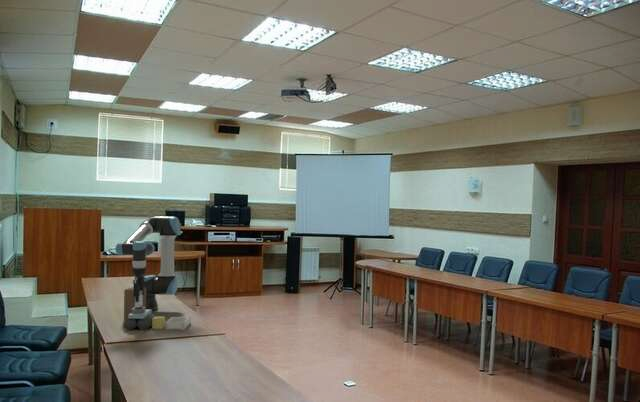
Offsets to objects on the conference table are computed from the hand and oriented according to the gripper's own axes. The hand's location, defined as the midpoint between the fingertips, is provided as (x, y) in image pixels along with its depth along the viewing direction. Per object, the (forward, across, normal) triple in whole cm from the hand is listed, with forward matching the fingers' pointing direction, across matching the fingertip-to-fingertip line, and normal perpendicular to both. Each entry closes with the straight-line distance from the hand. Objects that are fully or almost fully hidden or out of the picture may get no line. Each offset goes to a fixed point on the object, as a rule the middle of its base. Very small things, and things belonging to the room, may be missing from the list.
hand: (138, 306), depth 285 cm
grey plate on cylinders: (+13, 0, +1) cm, 13 cm away
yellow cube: (+13, 0, +12) cm, 17 cm away
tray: (+13, -2, +23) cm, 26 cm away
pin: (+4, 0, 0) cm, 4 cm away
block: (+13, -17, -8) cm, 23 cm away
